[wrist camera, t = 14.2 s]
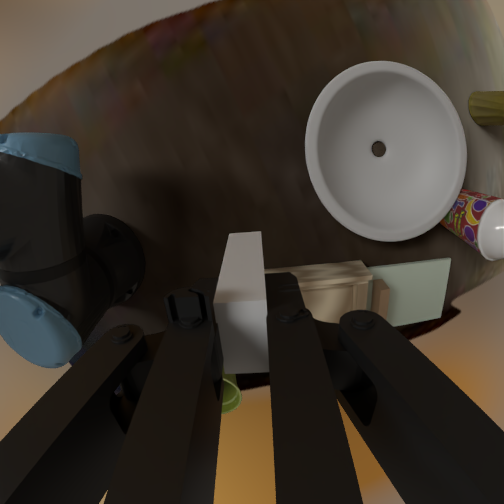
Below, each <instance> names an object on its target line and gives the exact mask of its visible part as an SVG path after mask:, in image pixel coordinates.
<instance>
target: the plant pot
mask: <svg viewBox="0 0 504 504" xmlns="http://www.w3.org/2000/svg"><path fill="white" fill-rule="evenodd" d="M222 376H223V381H224V392H223V403H222V413H221V414H225V413H228V412H231V411H233V410H235V409H236V408H237V407H238V406H239V405H240V403H241V400H242V394H241V391H240V389H239V388H238V386H237V382H236V375H235V374H225V371H224V366H223V370H222Z"/></svg>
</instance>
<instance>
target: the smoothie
mask: <svg viewBox="0 0 504 504" xmlns="http://www.w3.org/2000/svg"><path fill="white" fill-rule="evenodd" d="M440 224H442V225H443V226H444V227H445V228H447V229H448V230H450V231H451V232H452V233H454V234H455V235H456V236H458V237H459V238H461V239H462V240H463V241H465V242H466V243H467V244H469V245H470V246H471V247H472V248H474V249H475V250H476V251H478V252H479V253H480V254H481V255H483V256H484V257H485V258H486V259H488V260H491V261H494V260H499V259H504V199H501V198H497V197H493V196H490V195H486V194H482V193H478V192H474V191H469V190H465V189H461V191H460V193H459V195H458V197H457V199H456V201H455V203H454V205H453V206H452V208H451V209H450V211H449V212H448V213H447V215H446V216H445V217H444V218H443V219H442V220H441V221H440Z"/></svg>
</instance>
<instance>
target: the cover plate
mask: <svg viewBox="0 0 504 504" xmlns="http://www.w3.org/2000/svg"><path fill="white" fill-rule="evenodd" d="M450 263H451V259H450V258H442V259H434V260H426V261H418V262H409V263H401V264H392V265H384V266H375V267H367V269H368V270H369V271H370V273H371V274H372V275H373V277H372V280H368V293H367V305H366V310H369V311H372V312H375V313H377V314H379V315H380V316H382V317H383V318H384V319H385V320H386V321H388V322H389V323H390V324H391V325H392V326H393V327H394V326H400V325H405V324H411V323H416V322H421V321H426V320H431V319H435V318H440V317H441V312H442V308H443V303H444V298H445V293H446V287H447V282H448V276H449V269H450Z"/></svg>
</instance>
